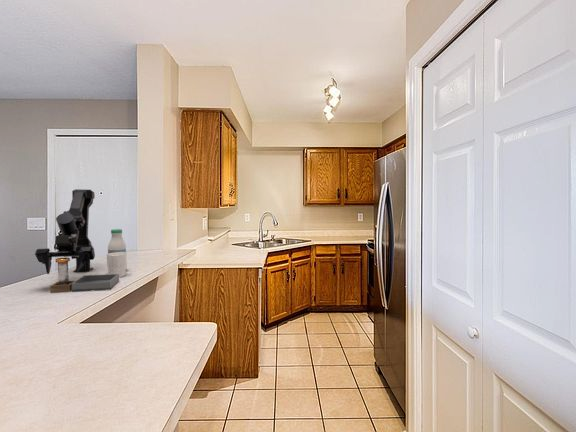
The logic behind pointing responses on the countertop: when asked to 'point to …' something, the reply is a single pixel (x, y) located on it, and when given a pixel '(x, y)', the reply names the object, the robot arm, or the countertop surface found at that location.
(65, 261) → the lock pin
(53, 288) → the socket block
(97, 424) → the countertop surface
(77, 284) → the tray
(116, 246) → the milk bottle
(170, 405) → the countertop surface
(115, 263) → the white cup
